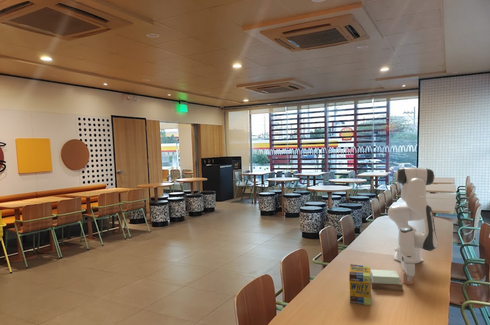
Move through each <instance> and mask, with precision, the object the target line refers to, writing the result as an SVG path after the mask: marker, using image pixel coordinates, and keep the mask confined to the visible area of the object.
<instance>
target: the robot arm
mask: <svg viewBox="0 0 490 325" xmlns="http://www.w3.org/2000/svg"><path fill="white" fill-rule="evenodd" d="M395 179H396V182H397V183H398V184H401V189H400V190H401V191H400V198H401V200H402V201H404V202H405V204H402V205H401V204H400V205H399V204H397V205H392V206H390V207H389V208H388V210H387V217H388V218H389V219H390V220H391V221H392V222H394V223H395V225H396V226H397V228H398V237H397V238H398V239H397V242H398V246H397V247H395V248H394V251H395V252H394V254H393V260H394V261H398V262H400V265H401V267H402V268H403V269H402V270H404V271H405V272H406V274H407V281H411V277H413V278H414V277H415V274H416V273H415V272H416V264H419V263H421V262H422V263H423V262H424V259H423V258H422V255H421V250H422V249H423V250H426V251H428V252H432V251H434V250H436V249H437V248H438V245H439V243H438V241H439V240H438V238H437V233H436V228H435V227H436V226H435V221H434V220H435V218H434V213H433V209H432V207H431V206H430V205H429V204H428V201H427V188H426V187H427V186H430V185H432V184H433V183H434V181H435V173H434V171H433V170H432V169H430V168H422V167H398V168H397V170H396V172H395ZM423 220H424V227H425V232H422V231H417V229H416V228H415V227H413V226H412V225H410V224H409V222H415V221H417V222H418V221H423Z"/></svg>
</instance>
